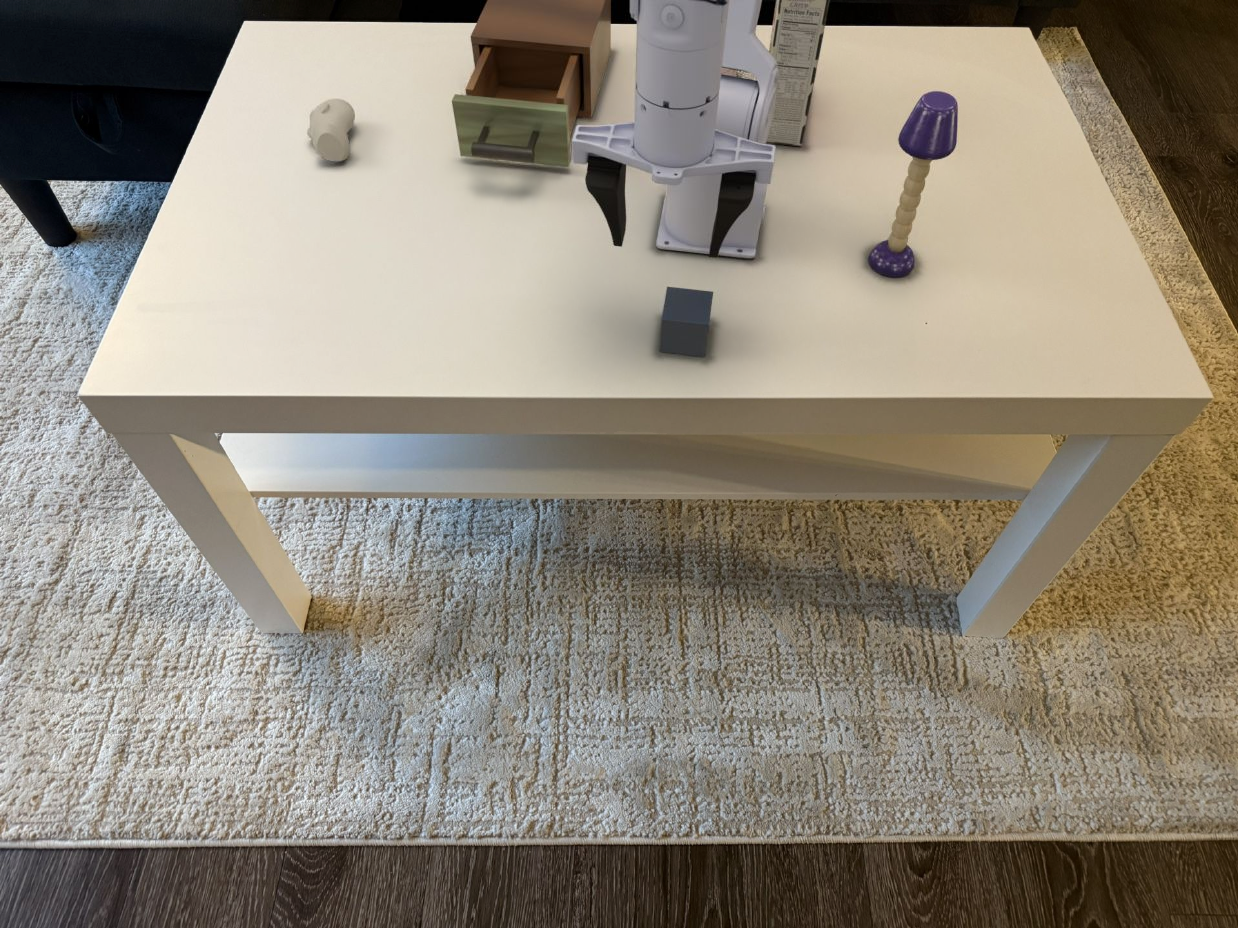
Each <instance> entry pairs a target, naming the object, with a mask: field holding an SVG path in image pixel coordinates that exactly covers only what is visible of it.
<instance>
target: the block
mask: <svg viewBox="0 0 1238 928" xmlns="http://www.w3.org/2000/svg"><path fill="white" fill-rule="evenodd" d="M713 299H714V291H712V290H703V289H693V288H684V287H674V286H666V291H665V296H664V302H663V307H662V314H661V320H660V334H659V335H660V336H659V348H658V349H659V350H658V351H659V353H666V354H674V355H675V354H676V355H684V356H691V357H699V358H700V357H701V358H705V357H706V352H707V345H708V336H709V329H710V321H711V313H712V307H713Z"/></svg>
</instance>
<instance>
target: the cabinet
mask: <svg viewBox="0 0 1238 928" xmlns="http://www.w3.org/2000/svg"><path fill="white" fill-rule="evenodd" d="M611 20H612V0H486V3H485V4H484V7H483V9H482V11H481V13H480V15H479V17H478V20H477V21H476V23H475V25H474V28H473V30H472V31H471V34H470V43H471V50H472V58H473V64H474V65H473V66H474V68H475V67H476V64H477V62H478V60H479V58H480V56H481V53H482V51H483V49H484V47H485V45H493V46H504V47H514V48H525V49H536V50H547V51H558V52H569V53H580V54H582V72H583V97H582V100H581V104H580V107H579V110H578V113H577V117H576V118H585V119H592V117H593V114H594V111H595V107H596V104H597V101H598V98H599V94H600V90H601V87H602V83H603V80H604V77H605V73H606V70H607V66H608V63H609V59H610V56H611V53H612V46H611V45H612V30H611V29H612V21H611Z"/></svg>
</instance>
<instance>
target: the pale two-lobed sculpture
mask: <svg viewBox="0 0 1238 928" xmlns="http://www.w3.org/2000/svg"><path fill="white" fill-rule="evenodd" d="M355 119H356V113H355V109H354V107H353V106H352V104H351V103H350V102H348V101H346V100H345V99H341V98H329V99H327V100H325V101H323V102H321V103H320V104H319V105H317V106H316V107H315V108H313V109H312V110H311V112H310V114H309V127H308V128H307V131H306V134H307V136H308V138H310V140H311V142H312V145H313V149H314V151H315V152H316V153H317V154H318V155H319V156H320V157H321V158H323V159H325V160H327V161H331V162H342V161H345V160H347V159H348V157H350V154H351V145H350V141H349V136H350V135H349V134H348V133H349V131H350V130H351V129H352V127H353V125H354V122H355Z"/></svg>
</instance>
